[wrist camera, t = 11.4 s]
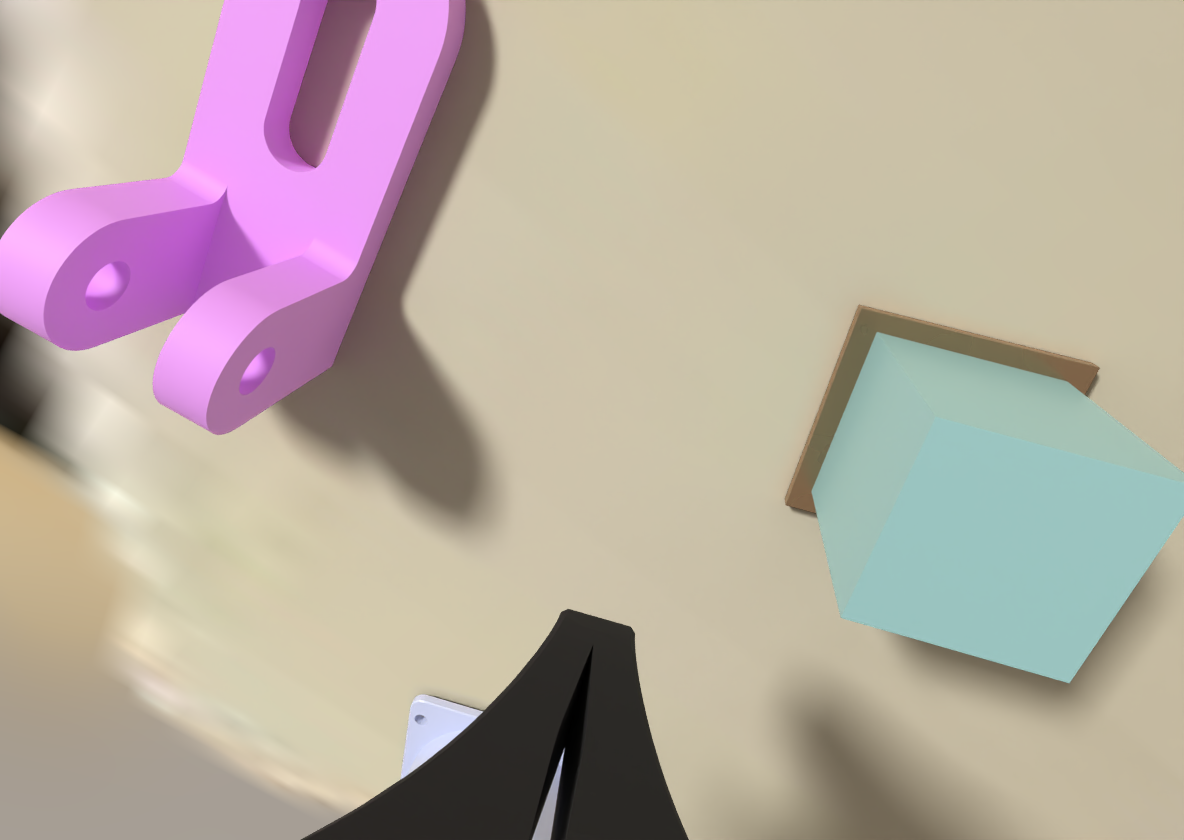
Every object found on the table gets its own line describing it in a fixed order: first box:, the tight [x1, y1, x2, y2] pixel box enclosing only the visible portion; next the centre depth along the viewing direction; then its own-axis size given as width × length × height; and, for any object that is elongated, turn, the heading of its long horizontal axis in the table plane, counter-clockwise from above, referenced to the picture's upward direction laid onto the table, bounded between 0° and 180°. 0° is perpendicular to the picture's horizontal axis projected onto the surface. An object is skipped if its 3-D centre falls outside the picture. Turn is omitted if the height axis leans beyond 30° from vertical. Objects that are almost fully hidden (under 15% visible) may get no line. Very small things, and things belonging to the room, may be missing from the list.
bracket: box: [0, 0, 466, 435], centre depth 17 cm, size 13×6×7 cm, turn 150°
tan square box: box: [785, 305, 1099, 513], centre depth 19 cm, size 6×6×4 cm
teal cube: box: [811, 332, 1184, 683], centre depth 18 cm, size 5×5×6 cm
